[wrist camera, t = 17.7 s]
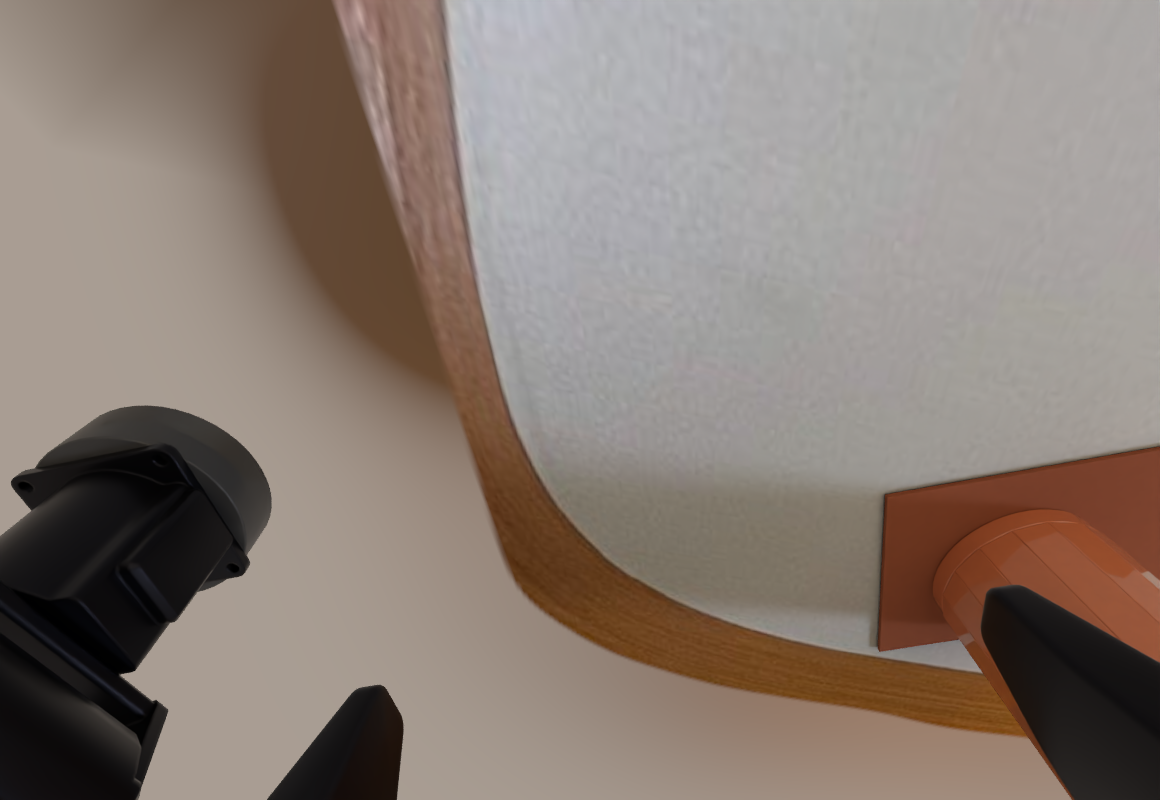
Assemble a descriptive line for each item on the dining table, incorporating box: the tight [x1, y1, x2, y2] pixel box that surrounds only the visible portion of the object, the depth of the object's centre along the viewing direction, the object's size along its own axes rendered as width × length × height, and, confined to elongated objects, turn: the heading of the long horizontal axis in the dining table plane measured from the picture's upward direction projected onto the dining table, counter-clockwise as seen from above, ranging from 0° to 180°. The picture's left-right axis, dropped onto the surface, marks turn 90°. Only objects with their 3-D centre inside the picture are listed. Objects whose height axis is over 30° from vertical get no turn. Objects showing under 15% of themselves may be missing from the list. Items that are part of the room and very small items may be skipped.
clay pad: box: [878, 447, 1160, 652], centre depth 24 cm, size 12×9×1 cm
